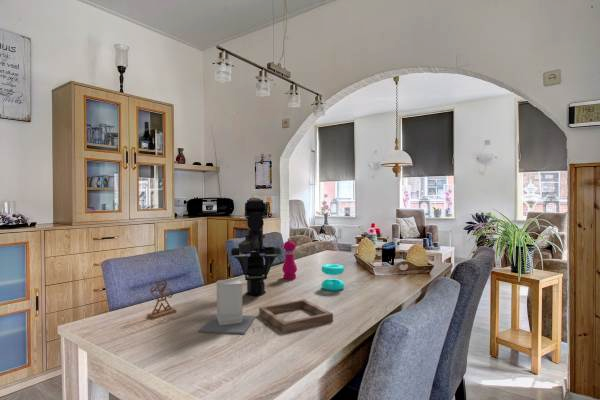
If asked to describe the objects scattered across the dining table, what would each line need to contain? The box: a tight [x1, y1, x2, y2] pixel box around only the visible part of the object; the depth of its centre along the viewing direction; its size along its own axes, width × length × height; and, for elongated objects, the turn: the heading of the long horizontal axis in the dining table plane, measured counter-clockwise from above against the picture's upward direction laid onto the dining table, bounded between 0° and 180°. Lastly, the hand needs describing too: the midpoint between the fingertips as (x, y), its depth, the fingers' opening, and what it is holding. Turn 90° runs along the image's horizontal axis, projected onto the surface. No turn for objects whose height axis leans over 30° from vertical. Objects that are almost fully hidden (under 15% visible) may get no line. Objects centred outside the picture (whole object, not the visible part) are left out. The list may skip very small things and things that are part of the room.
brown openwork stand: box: [146, 279, 177, 320], centre depth 118 cm, size 9×4×12 cm, turn 143°
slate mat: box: [198, 313, 257, 335], centre depth 108 cm, size 14×14×1 cm
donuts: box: [321, 263, 345, 291], centre depth 151 cm, size 10×10×10 cm
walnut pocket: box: [258, 298, 334, 334], centre depth 114 cm, size 18×18×2 cm
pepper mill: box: [281, 237, 298, 280], centre depth 169 cm, size 7×7×20 cm
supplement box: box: [216, 278, 243, 325], centre depth 110 cm, size 7×7×13 cm
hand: (255, 274), depth 127 cm, fingers open, 9 cm apart
